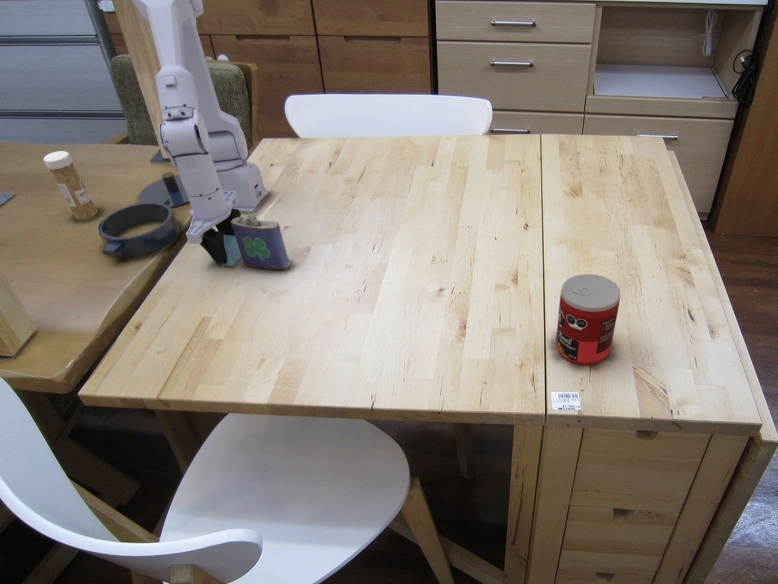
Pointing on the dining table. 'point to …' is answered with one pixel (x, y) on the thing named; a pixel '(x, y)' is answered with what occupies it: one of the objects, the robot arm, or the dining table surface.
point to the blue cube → (231, 250)
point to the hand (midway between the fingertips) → (227, 255)
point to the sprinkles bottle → (70, 184)
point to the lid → (166, 191)
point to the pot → (134, 216)
